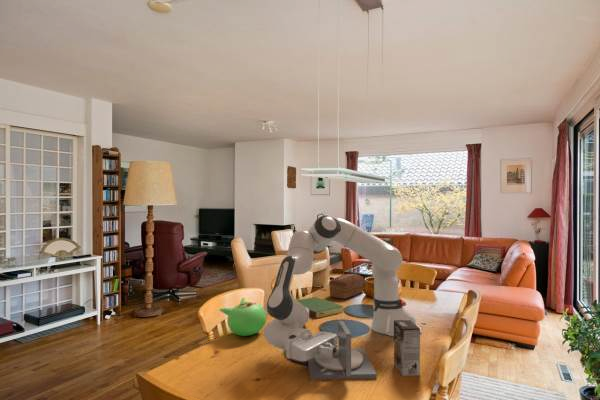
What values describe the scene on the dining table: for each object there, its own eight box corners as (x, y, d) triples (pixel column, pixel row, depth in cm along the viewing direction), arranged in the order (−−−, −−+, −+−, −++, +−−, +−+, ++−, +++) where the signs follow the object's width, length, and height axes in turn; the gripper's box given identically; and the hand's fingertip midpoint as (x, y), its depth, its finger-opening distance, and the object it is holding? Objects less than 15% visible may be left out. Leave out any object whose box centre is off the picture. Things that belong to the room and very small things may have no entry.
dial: (312, 351, 143) (312, 312, 143) (356, 349, 145) (356, 310, 145) (322, 382, 119) (322, 334, 119) (374, 379, 120) (374, 332, 120)
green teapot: (247, 344, 155) (247, 308, 155) (217, 336, 164) (217, 302, 164) (273, 331, 170) (273, 299, 170) (244, 325, 179) (244, 294, 179)
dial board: (363, 352, 147) (363, 347, 147) (376, 378, 125) (376, 373, 125) (307, 352, 146) (307, 348, 146) (310, 379, 124) (310, 374, 124)
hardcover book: (288, 308, 209) (288, 301, 209) (315, 303, 220) (315, 296, 220) (316, 319, 189) (316, 312, 189) (344, 313, 200) (344, 306, 200)
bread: (325, 297, 232) (325, 277, 232) (348, 289, 254) (348, 271, 254) (345, 301, 223) (345, 280, 223) (367, 292, 246) (367, 273, 246)
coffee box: (393, 364, 135) (393, 319, 136) (410, 364, 136) (410, 319, 136) (402, 376, 126) (402, 328, 126) (420, 375, 127) (420, 327, 127)
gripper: (318, 341, 142) (350, 350, 133) (283, 359, 126) (317, 370, 117) (318, 325, 142) (350, 332, 133) (283, 340, 126) (317, 350, 117)
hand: (334, 350), depth 125 cm, fingers closed
